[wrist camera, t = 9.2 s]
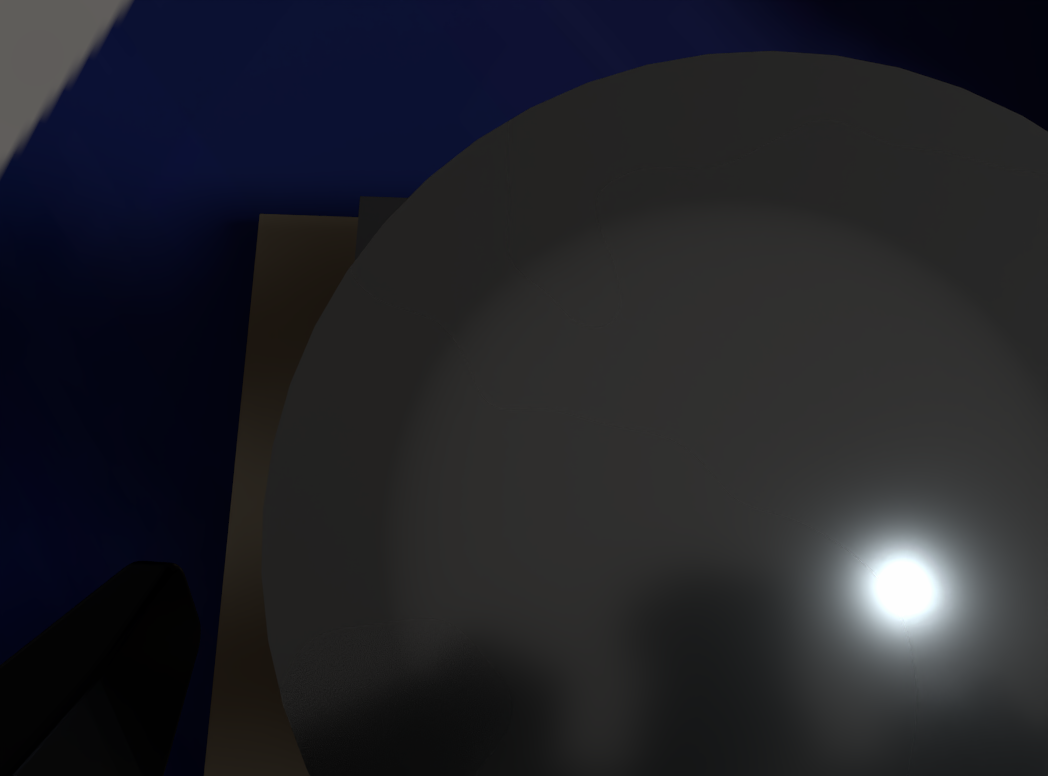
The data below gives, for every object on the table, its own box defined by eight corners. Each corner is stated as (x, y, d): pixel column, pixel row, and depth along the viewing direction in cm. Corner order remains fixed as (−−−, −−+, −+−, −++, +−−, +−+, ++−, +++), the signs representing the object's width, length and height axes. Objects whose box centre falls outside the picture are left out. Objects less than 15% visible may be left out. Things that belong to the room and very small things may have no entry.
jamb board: (1982, 1410, 14) (2087, 1478, 13) (186, 1177, 16) (159, 1220, 15) (1857, 288, 16) (1940, 273, 15) (278, 230, 18) (259, 213, 17)
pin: (831, 618, 16) (1513, 885, 4) (568, 710, 16) (444, 1245, 4) (729, 358, 16) (1041, -86, 5) (478, 449, 17) (146, 247, 5)
